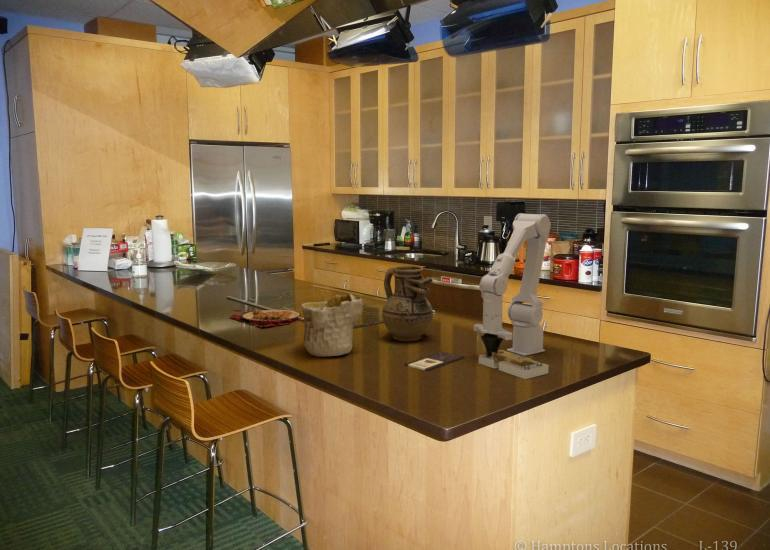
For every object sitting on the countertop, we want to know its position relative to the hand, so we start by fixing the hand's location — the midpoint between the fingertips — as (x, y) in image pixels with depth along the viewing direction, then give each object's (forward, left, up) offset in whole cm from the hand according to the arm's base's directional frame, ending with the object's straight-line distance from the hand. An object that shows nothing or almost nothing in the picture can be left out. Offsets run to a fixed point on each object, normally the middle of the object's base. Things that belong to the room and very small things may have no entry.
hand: (491, 358), depth 190 cm
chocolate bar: (+14, -10, -2) cm, 17 cm away
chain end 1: (0, +2, -1) cm, 3 cm away
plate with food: (+29, -96, -2) cm, 100 cm away
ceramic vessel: (+35, -40, -1) cm, 53 cm away
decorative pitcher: (+4, -38, -1) cm, 38 cm away
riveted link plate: (-1, +7, -1) cm, 8 cm away
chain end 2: (0, +13, -1) cm, 13 cm away
